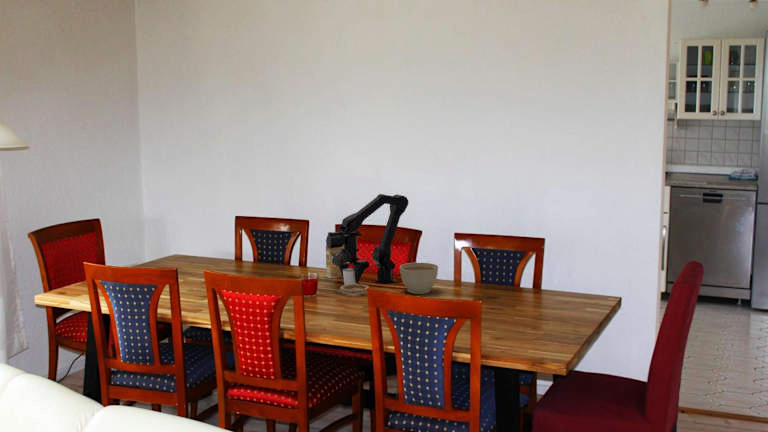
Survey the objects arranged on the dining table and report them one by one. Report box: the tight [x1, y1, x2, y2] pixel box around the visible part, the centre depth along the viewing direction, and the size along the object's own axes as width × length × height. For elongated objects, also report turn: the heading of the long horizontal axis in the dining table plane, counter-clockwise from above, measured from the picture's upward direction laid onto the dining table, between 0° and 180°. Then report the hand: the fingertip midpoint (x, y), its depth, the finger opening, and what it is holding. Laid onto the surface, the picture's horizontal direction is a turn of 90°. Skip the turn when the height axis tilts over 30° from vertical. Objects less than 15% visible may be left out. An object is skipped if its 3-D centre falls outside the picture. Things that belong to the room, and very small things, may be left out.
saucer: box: [334, 283, 370, 299], centre depth 342 cm, size 12×12×2 cm
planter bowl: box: [399, 262, 439, 295], centre depth 343 cm, size 16×16×11 cm
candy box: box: [325, 244, 344, 279], centre depth 371 cm, size 9×4×15 cm, turn 118°
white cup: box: [342, 267, 358, 285], centre depth 356 cm, size 7×7×7 cm
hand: (350, 281), depth 356 cm, fingers open, 8 cm apart
